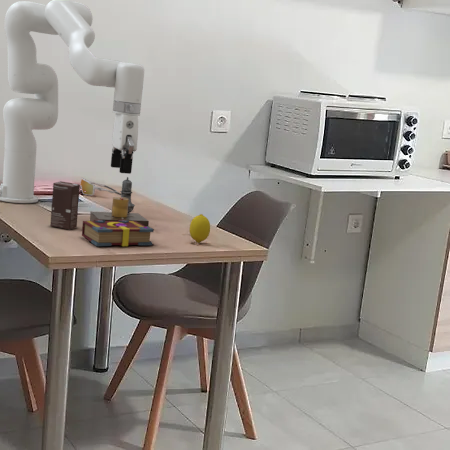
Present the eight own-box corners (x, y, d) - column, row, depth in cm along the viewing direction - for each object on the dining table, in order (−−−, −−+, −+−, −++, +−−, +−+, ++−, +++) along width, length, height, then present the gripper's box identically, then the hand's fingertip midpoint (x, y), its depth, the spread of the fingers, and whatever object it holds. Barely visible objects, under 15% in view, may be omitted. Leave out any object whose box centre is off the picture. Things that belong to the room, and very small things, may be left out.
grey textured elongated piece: (130, 218, 225) (133, 179, 222) (111, 215, 226) (115, 176, 223) (136, 215, 230) (140, 177, 228) (118, 213, 231) (121, 174, 229)
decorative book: (80, 237, 193) (82, 218, 192) (138, 236, 201) (139, 218, 200) (96, 247, 183) (98, 227, 182) (156, 246, 192) (158, 227, 191)
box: (49, 226, 201) (52, 182, 199) (58, 224, 205) (61, 180, 203) (69, 230, 199) (72, 185, 197) (77, 227, 203) (81, 184, 201)
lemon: (187, 240, 203) (190, 211, 202) (207, 242, 204) (211, 213, 202) (188, 244, 198) (191, 215, 196) (209, 246, 198) (212, 216, 197)
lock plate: (98, 230, 203) (99, 218, 203) (89, 221, 213) (90, 210, 213) (147, 231, 209) (149, 220, 208) (137, 223, 219) (137, 212, 218)
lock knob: (110, 214, 212) (111, 195, 211) (125, 214, 213) (127, 196, 212) (113, 217, 208) (114, 198, 207) (128, 217, 209) (130, 199, 208)
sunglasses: (74, 189, 267) (77, 175, 266) (114, 196, 274) (117, 183, 273) (84, 196, 254) (87, 181, 254) (125, 203, 261) (129, 189, 260)
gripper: (148, 113, 199) (142, 176, 203) (131, 107, 215) (125, 166, 218) (121, 110, 196) (115, 174, 200) (105, 104, 212) (100, 164, 215)
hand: (120, 170), depth 209 cm, fingers open, 9 cm apart
